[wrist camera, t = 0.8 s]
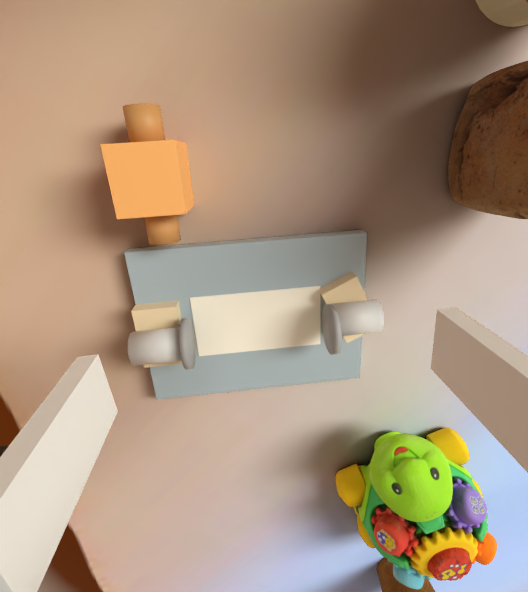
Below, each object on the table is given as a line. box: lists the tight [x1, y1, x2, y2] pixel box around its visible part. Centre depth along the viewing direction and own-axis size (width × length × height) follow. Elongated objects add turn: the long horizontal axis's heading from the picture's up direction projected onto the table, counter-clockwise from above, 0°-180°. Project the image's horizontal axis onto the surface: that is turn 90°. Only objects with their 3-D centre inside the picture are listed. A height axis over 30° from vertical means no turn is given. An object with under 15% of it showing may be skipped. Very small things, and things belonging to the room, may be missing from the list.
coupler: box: [100, 104, 194, 245], centre depth 27 cm, size 5×10×6 cm, turn 4°
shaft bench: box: [124, 230, 384, 400], centre depth 32 cm, size 16×23×7 cm
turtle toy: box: [335, 428, 497, 589], centre depth 39 cm, size 17×23×12 cm
